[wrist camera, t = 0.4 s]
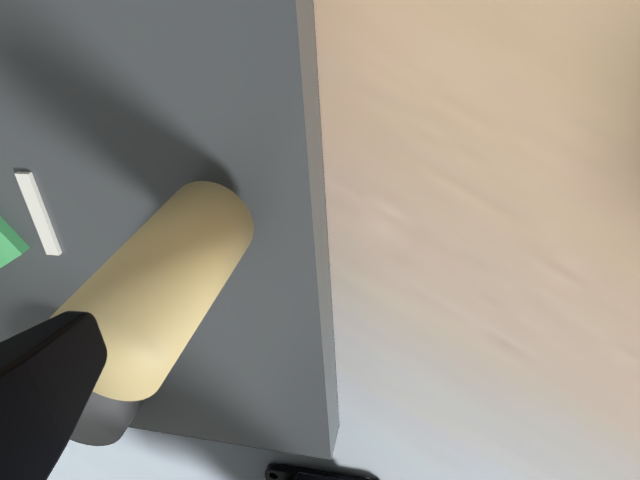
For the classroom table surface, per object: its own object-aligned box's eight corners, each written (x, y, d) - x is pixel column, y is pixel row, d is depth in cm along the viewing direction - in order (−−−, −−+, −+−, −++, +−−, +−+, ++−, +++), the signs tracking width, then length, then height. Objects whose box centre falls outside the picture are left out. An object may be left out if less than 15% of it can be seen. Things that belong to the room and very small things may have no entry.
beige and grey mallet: (122, 425, 26) (26, 572, 21) (36, 370, 26) (-90, 507, 20) (299, 229, 18) (220, 386, 12) (177, 136, 17) (28, 256, 11)
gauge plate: (339, 425, 26) (328, 469, 24) (-24, 372, 31) (-59, 405, 29) (302, -184, 14) (274, -201, 12) (-297, -115, 19) (-391, -118, 17)
